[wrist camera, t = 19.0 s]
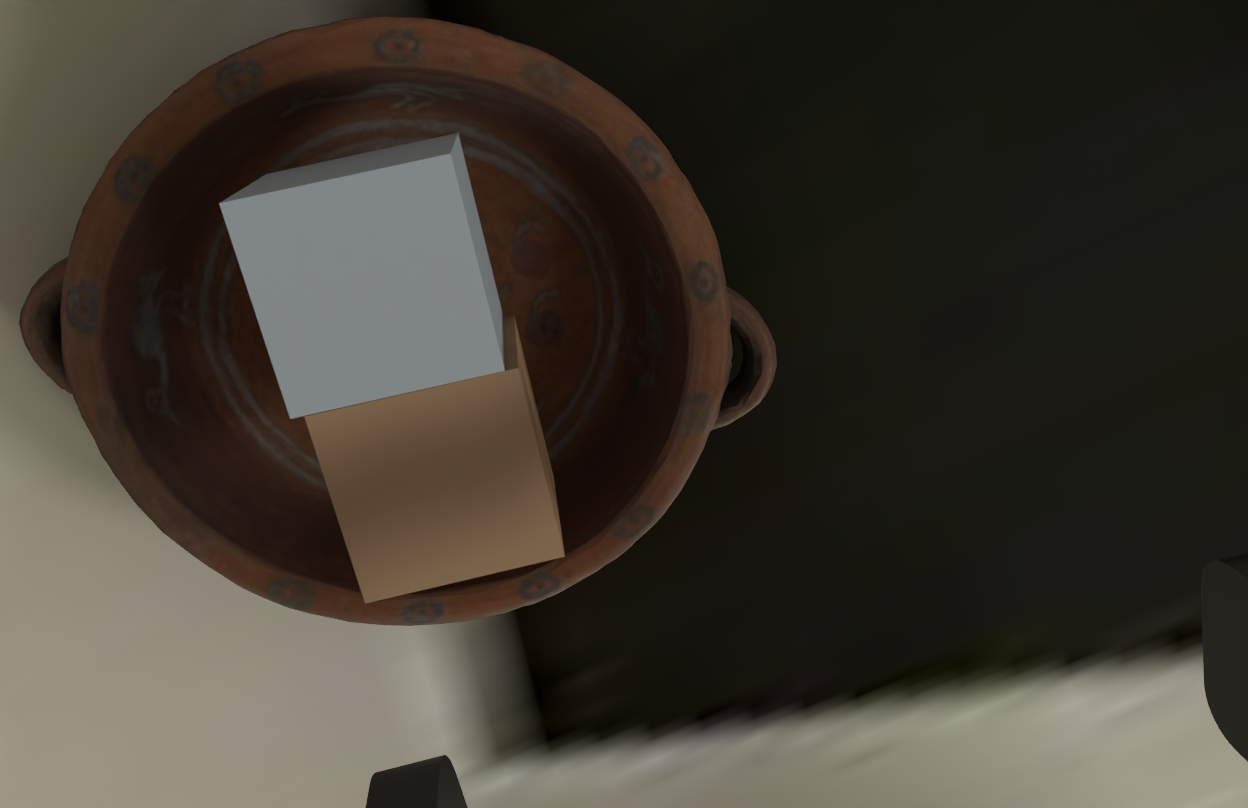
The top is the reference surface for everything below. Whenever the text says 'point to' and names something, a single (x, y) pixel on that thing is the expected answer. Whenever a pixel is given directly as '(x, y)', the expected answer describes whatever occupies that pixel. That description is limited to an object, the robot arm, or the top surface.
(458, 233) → the grey block
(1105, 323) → the top surface
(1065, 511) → the top surface
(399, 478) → the walnut block
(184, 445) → the dish
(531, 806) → the top surface
